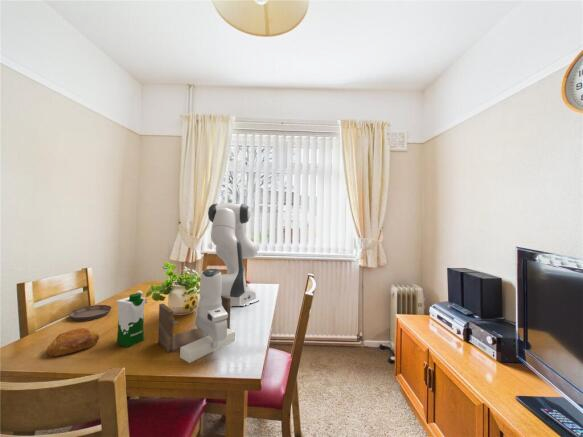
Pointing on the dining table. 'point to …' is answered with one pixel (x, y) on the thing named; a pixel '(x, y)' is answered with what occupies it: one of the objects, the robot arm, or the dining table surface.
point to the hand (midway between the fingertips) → (209, 344)
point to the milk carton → (130, 320)
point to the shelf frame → (182, 339)
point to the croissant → (72, 341)
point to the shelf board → (203, 347)
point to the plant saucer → (90, 312)
